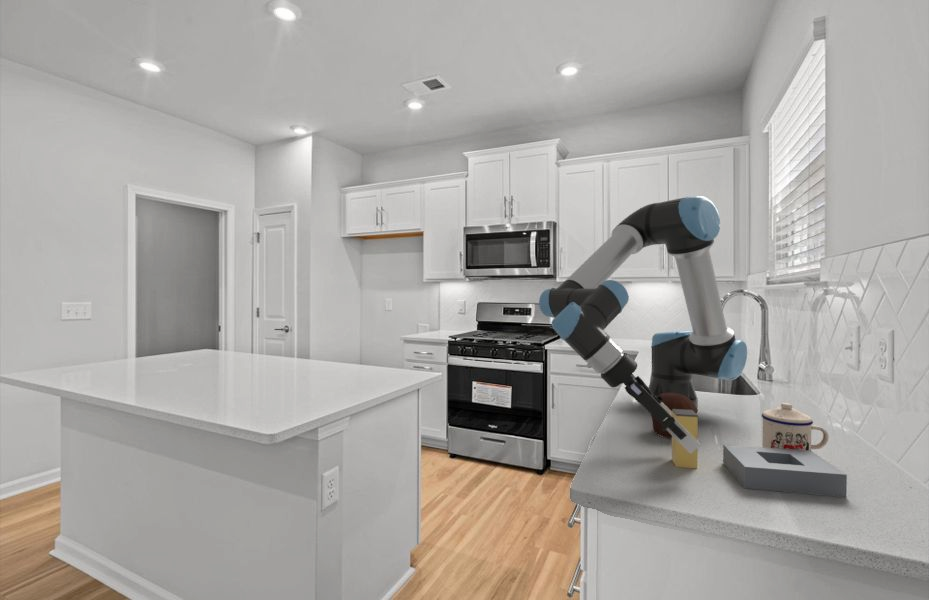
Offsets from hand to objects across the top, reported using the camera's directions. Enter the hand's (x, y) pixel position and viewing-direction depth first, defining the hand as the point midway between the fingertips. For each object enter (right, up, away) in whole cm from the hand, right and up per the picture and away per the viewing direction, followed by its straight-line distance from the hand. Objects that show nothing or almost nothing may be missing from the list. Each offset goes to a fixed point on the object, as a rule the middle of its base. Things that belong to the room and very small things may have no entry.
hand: (687, 437), depth 93 cm
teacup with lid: (+25, -6, +4) cm, 26 cm away
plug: (0, -6, +1) cm, 6 cm away
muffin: (+7, -5, +21) cm, 22 cm away
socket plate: (+14, -6, -7) cm, 17 cm away
